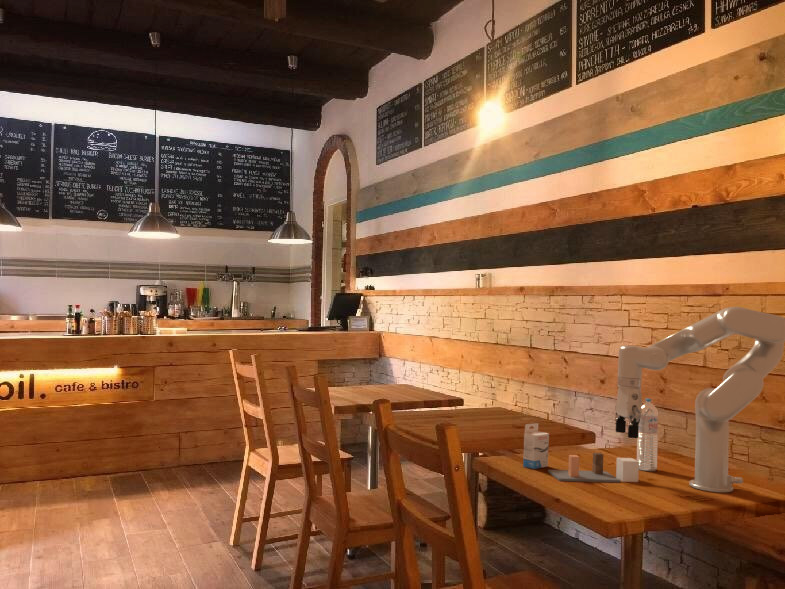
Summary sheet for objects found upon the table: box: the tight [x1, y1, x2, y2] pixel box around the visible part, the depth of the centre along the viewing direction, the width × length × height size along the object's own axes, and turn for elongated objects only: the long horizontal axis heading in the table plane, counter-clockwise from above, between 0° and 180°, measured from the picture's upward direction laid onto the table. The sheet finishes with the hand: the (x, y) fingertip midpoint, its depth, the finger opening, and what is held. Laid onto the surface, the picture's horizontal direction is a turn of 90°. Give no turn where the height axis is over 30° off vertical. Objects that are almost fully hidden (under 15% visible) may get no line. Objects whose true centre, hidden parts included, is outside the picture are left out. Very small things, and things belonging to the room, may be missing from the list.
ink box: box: [522, 422, 550, 470], centre depth 230 cm, size 8×5×15 cm, turn 134°
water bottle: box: [636, 398, 659, 472], centre depth 233 cm, size 7×7×25 cm
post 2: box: [591, 452, 604, 474], centre depth 220 cm, size 3×3×6 cm
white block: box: [615, 457, 640, 483], centre depth 216 cm, size 5×5×7 cm
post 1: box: [567, 454, 580, 477], centre depth 214 cm, size 3×3×6 cm
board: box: [547, 469, 621, 484], centre depth 217 cm, size 20×12×1 cm, turn 94°
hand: (626, 435), depth 216 cm, fingers open, 9 cm apart
